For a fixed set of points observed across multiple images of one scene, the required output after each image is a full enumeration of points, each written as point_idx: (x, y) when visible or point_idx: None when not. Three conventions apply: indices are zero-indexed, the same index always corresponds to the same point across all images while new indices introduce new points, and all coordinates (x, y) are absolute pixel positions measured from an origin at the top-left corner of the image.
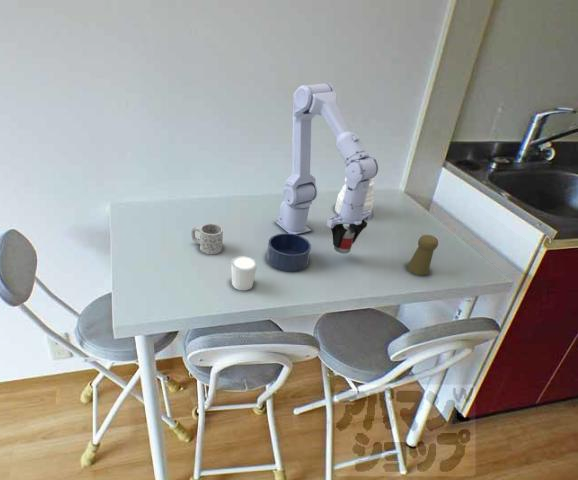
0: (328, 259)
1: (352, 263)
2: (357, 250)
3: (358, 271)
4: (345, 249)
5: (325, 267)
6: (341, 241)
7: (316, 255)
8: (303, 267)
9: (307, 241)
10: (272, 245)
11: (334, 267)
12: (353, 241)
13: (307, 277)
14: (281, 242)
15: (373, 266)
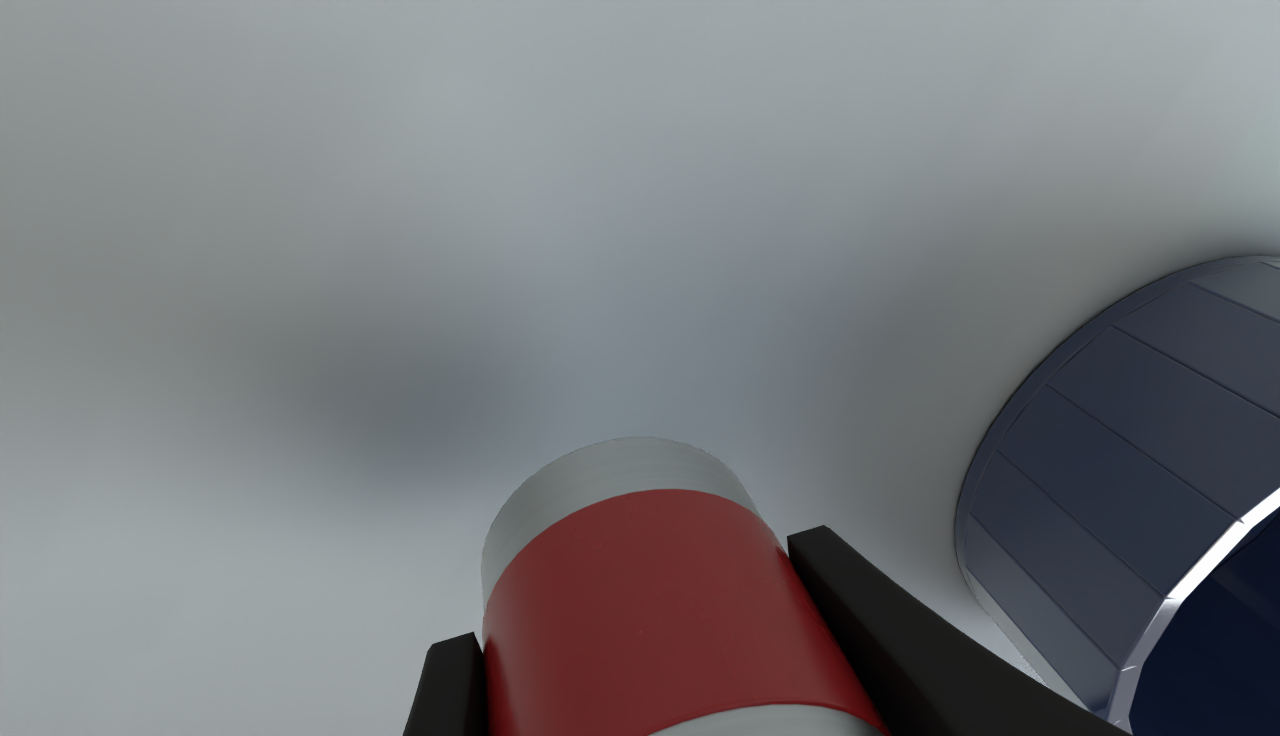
0: (739, 439)
1: (445, 318)
2: (218, 603)
3: (443, 84)
4: (676, 486)
5: (881, 280)
6: (873, 629)
7: (827, 519)
8: (1158, 297)
9: (1138, 665)
10: (1272, 632)
11: (768, 261)
12: (462, 678)
13: (1225, 106)
14: (1161, 678)
15: (60, 179)
